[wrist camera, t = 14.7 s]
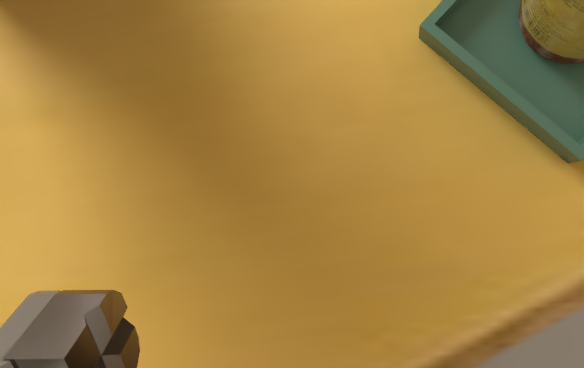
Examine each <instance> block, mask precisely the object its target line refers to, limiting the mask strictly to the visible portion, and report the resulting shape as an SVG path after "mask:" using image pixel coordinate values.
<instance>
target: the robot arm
mask: <svg viewBox="0 0 584 368" xmlns="http://www.w3.org/2000/svg"><path fill="white" fill-rule="evenodd" d="M127 308H128V307H127V305H126V303H125V300H124V298H123V296H122V293H120V292H118V291H115V290H63V291H37V292H35V293H32V294H30V295H28V296H27V298H26V299H25V300H24V301H23V302H22V303H21V305H20V306H19V307H18V308H17V309H16V310H15V311H14V313H13V314H12V315H11V316H10V317H9V318H8V320H7V321H6V322H5V323H4V324H3V325H2V327H1V328H0V368H137V364H138V358H139V352H140V347H139V338H138V335H137V332H136V329H135V327H134V326H133V325H132V324H131V323H130V322H128V321H127V320H126V319H125V318H123V316H124V314H125V312H126V310H127Z"/></svg>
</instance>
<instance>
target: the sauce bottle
mask: <svg viewBox="0 0 584 368" xmlns="http://www.w3.org/2000/svg"><path fill="white" fill-rule="evenodd" d="M518 18H519V25H520V27H521V31H522V34H523V37H524V39H525V41H526V43H527V44H528V46H529V47H530V48H532V49H533V50H534V51H535V52H536V53H537V54H539V55H541V56H542V57H544V58H546V59H547V60H552V61H554V62H557V63H563V64H576V63H582V62H584V0H521V1H520V5H519V15H518Z"/></svg>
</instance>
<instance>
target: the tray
mask: <svg viewBox="0 0 584 368" xmlns="http://www.w3.org/2000/svg"><path fill="white" fill-rule="evenodd" d="M520 1H521V0H443V1H442V2H441V3H440V4H439V5H438V6H437V7H436V8H435V9H434V10H433V11H432V13H431V14H430V15H429V16H428V17H427V18H426V19H425V20H424V21H423V22H422V23H421V25H420V29H419V38H420V39H421V40H422V41H424V42H425V43H426V44H427V45H428V46H430V47H431V48H432V49H433V50H434V51H435V52H437V53H438V54H439V55H440V56H441V57H443V58H444V59H445V60H446V61H447V62H449V63H450V64H451V65H452V66H453V67H454V68H456V69H457V70H458V71H459V72H460V73H462V74H463V75H464V76H465V77H466V78H468V79H469V80H470V81H471V82H472V83H473V84H475V85H476V86H477V87H478V88H479V89H481V90H482V91H483V92H484V93H485V94H487V95H488V96H489V97H490V98H491V99H492V100H494V101H495V102H496V103H497V104H498V105H500V106H501V107H502V108H503V109H504V110H506V111H507V112H508V113H509V114H510V115H511V116H513V117H514V118H515V119H516V120H517V121H519V122H520V123H521V124H522V125H523V126H525V127H526V128H527V129H528V130H529V131H530V132H532V133H533V134H534V135H535V136H536V137H538V138H539V139H540V140H541V141H542V142H544V143H545V144H546V145H547V146H548V147H549V148H551V149H552V150H553V151H554V152H555V153H557V154H558V155H559V156H560V157H561V158H563V159H564V160H565V161H566V162H567V163H571V162H576V161H580V160H582V159H583V158H584V62H582V63H576V64H563V63H557V62H554V61H552V60H547V59H546V58H544V57H542V56H541V55H539V54H537V53H536V52H535V51H534V50H533V49H532V48H530V47H529V46H528V44H527V43H526V41H525V39H524V37H523V34H522V31H521V27H520V25H519V18H518V15H519V5H520Z"/></svg>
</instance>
